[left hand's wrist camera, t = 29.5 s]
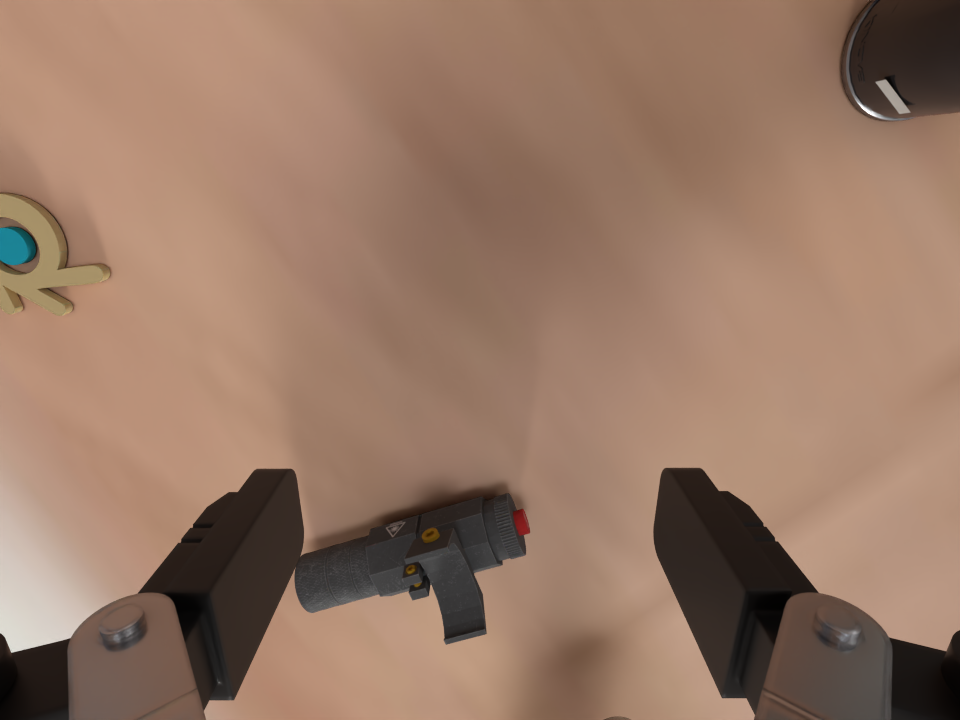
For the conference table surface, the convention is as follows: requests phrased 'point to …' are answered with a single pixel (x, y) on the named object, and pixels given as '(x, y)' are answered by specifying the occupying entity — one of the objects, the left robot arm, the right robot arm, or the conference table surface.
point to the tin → (617, 718)
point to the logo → (50, 271)
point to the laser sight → (420, 561)
